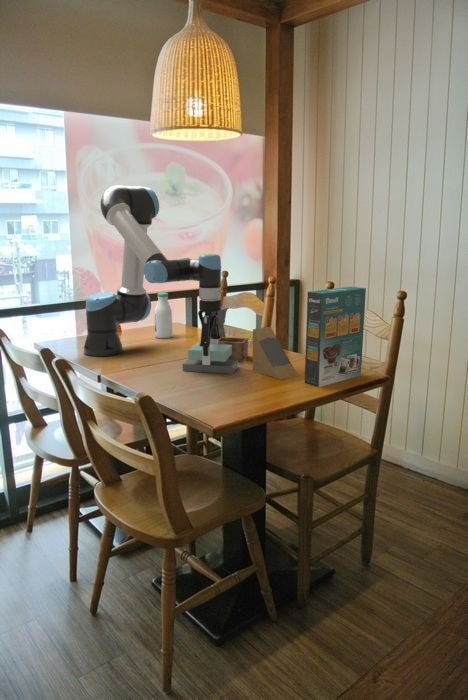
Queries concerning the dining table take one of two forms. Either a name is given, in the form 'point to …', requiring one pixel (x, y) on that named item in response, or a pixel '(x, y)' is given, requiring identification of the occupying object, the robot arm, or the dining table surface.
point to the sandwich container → (270, 355)
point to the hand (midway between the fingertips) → (210, 360)
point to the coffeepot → (220, 320)
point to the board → (211, 366)
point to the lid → (211, 352)
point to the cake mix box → (334, 335)
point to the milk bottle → (163, 317)
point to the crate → (236, 347)
